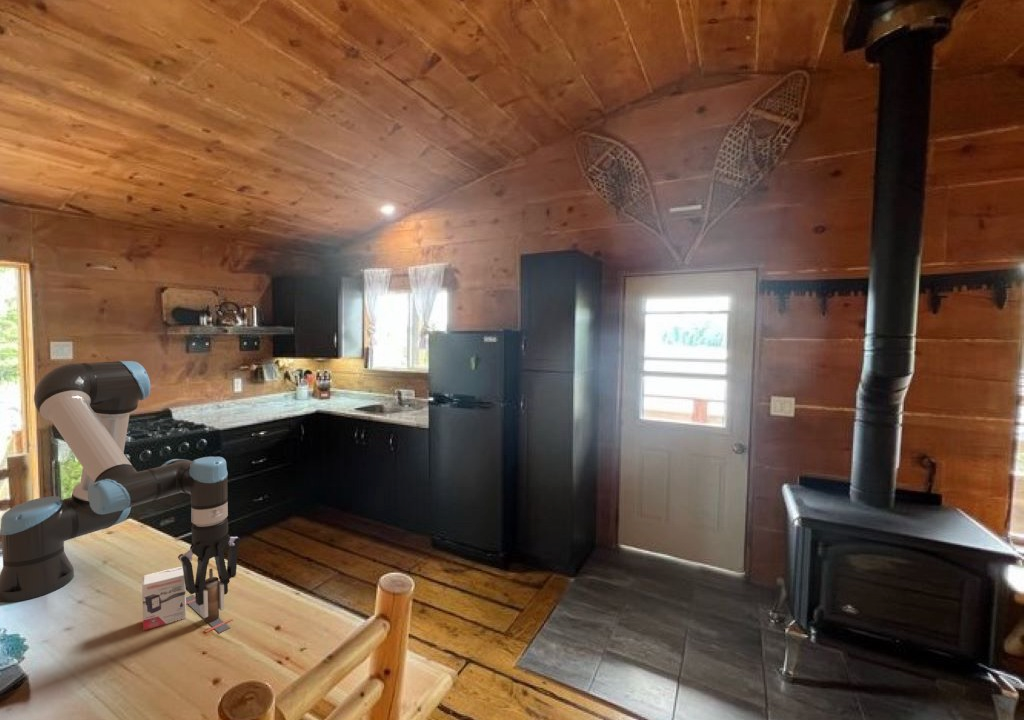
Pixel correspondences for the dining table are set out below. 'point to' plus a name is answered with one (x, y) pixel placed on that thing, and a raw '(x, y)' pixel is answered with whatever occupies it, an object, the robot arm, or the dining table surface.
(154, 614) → the ink box
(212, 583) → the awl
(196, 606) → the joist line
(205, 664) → the dining table surface
